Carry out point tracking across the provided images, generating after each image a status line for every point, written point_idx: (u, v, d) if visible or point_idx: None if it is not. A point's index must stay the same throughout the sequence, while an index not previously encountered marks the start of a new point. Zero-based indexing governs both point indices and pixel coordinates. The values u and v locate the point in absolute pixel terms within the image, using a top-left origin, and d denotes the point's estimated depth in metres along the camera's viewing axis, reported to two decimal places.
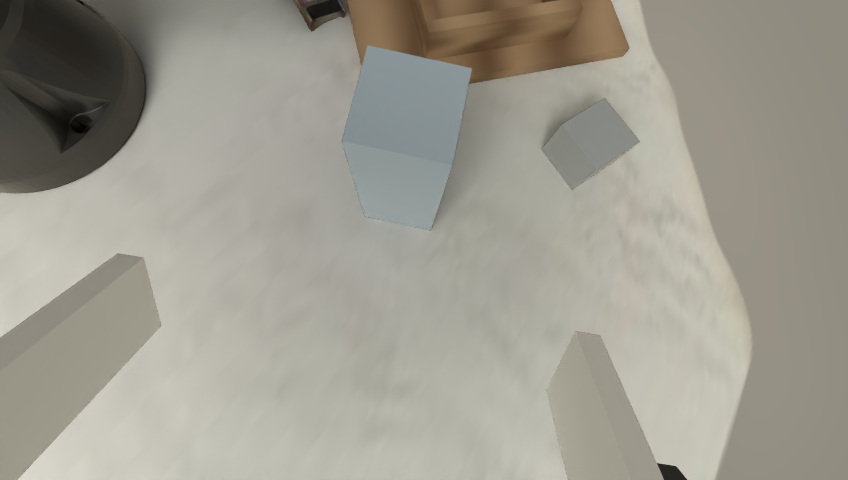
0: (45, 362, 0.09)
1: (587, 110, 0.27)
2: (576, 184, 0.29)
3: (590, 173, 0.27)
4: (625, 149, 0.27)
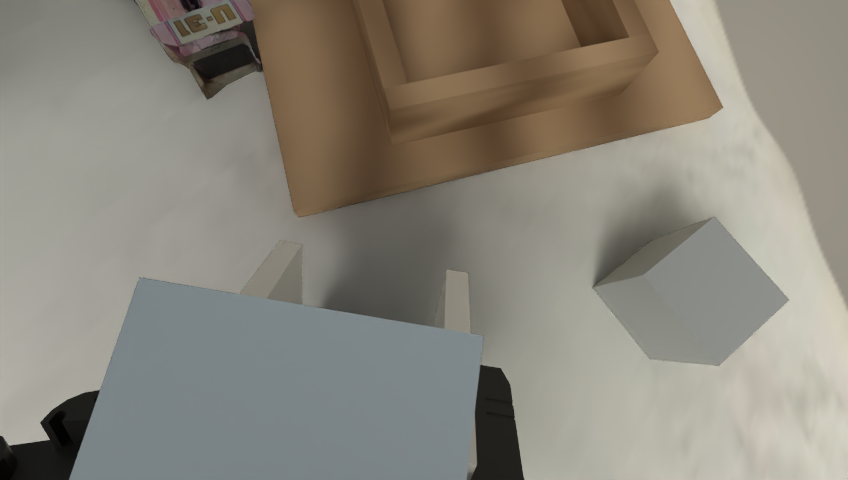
0: None
1: (686, 243, 0.15)
2: (661, 358, 0.17)
3: (700, 361, 0.15)
4: (765, 318, 0.14)
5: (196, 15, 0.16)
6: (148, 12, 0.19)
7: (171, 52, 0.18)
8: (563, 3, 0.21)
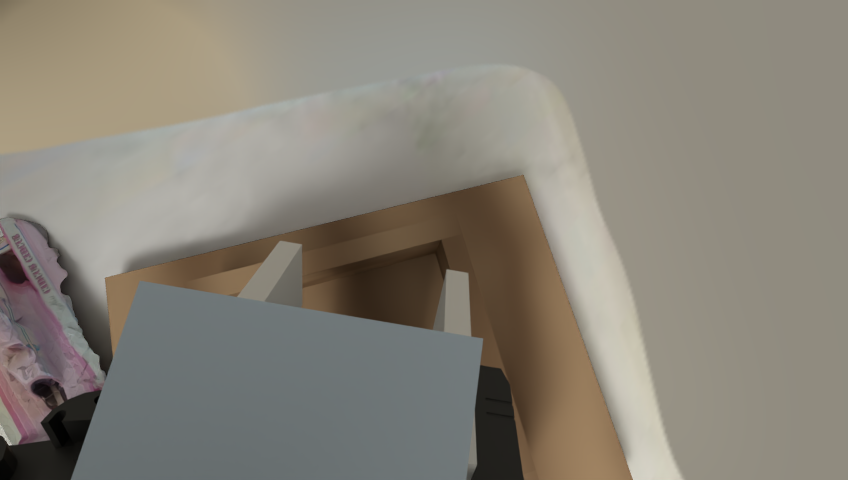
0: None
1: None
2: None
3: None
4: None
5: None
6: (0, 410, 0.17)
7: None
8: None
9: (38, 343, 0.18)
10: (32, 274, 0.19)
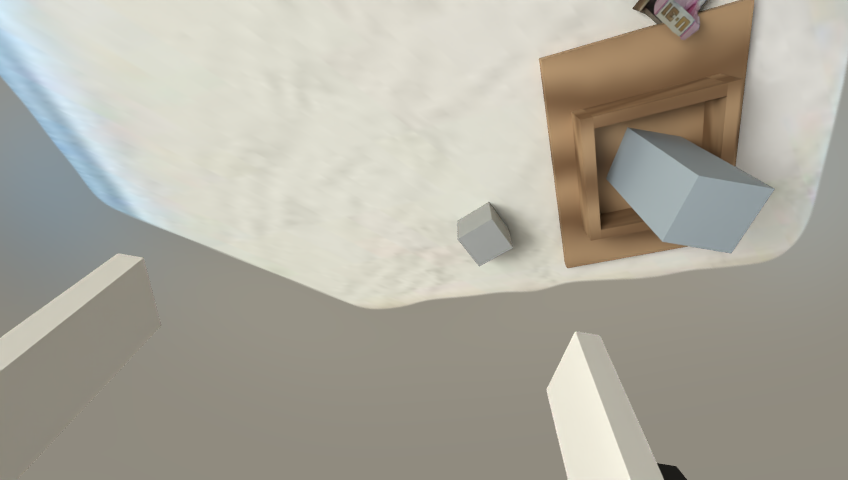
0: (45, 361, 0.09)
1: (503, 236, 0.38)
2: (458, 224, 0.41)
3: (458, 234, 0.40)
4: (473, 257, 0.40)
5: (678, 11, 0.28)
6: None
7: None
8: None
9: None
10: None
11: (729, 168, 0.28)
